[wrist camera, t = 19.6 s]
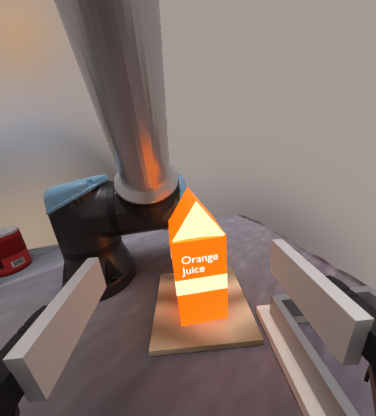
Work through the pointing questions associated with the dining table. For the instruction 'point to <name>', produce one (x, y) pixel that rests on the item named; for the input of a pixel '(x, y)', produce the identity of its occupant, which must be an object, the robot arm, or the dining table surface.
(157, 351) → the oak board
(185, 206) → the orange juice
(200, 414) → the dining table surface
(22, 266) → the canned food
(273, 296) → the collar holder
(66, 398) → the dining table surface
